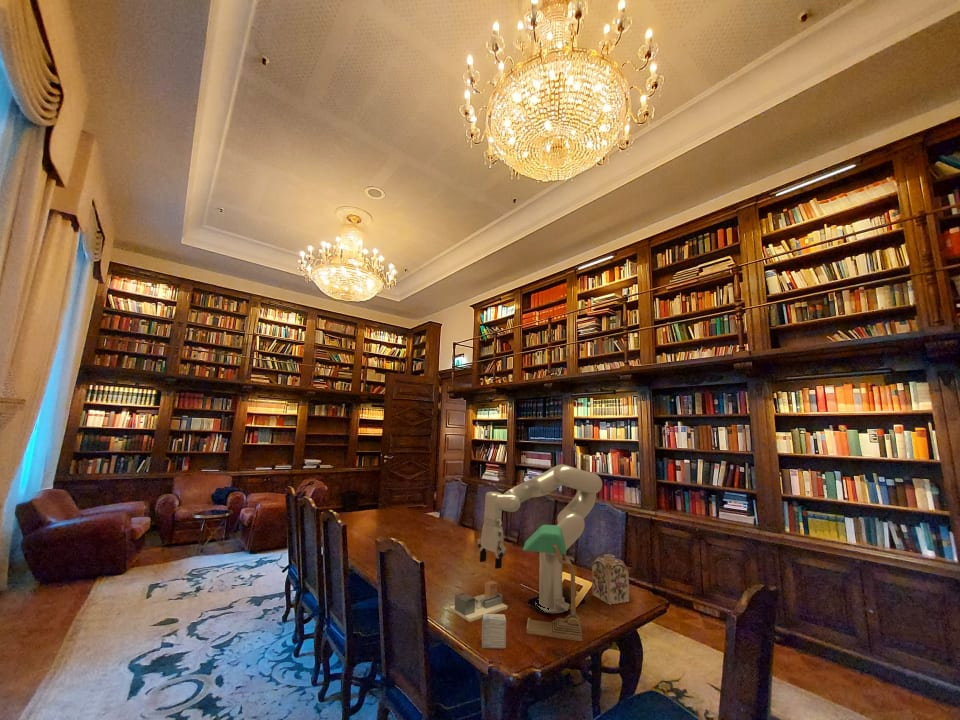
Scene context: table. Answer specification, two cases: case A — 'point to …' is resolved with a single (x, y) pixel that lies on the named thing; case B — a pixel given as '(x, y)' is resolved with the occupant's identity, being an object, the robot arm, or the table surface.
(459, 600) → the socket
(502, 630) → the medicine box
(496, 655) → the table surface
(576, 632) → the banker's lamp
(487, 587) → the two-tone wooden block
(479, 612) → the board
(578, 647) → the table surface
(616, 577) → the decorative jar
